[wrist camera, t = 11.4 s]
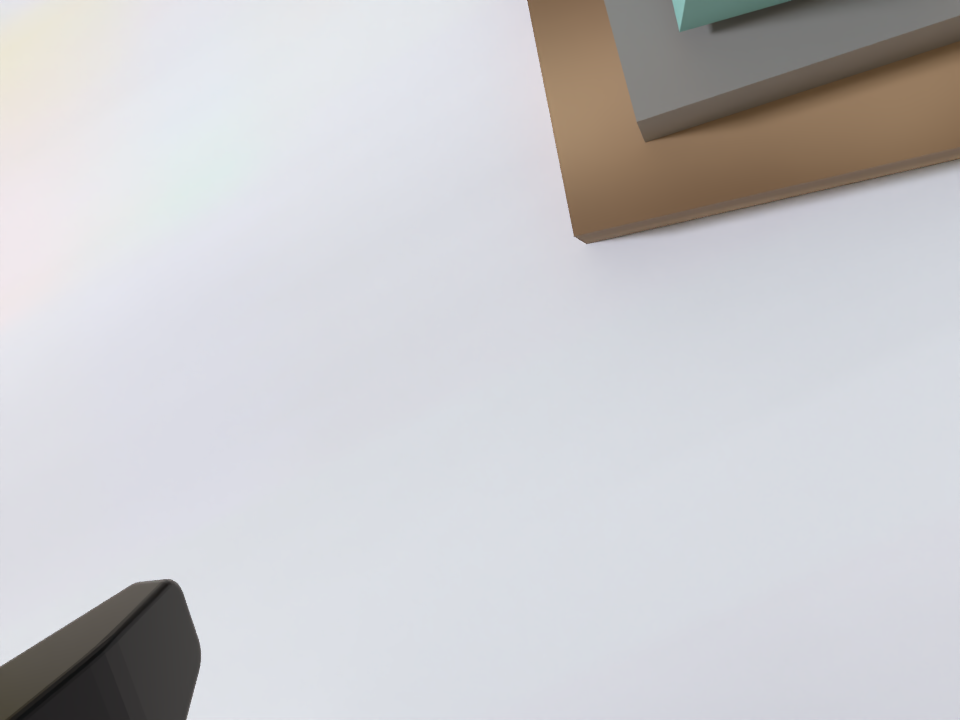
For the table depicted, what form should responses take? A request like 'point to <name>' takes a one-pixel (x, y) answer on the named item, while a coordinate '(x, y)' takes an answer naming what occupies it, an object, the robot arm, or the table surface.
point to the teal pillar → (714, 10)
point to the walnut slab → (728, 132)
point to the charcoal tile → (762, 53)
